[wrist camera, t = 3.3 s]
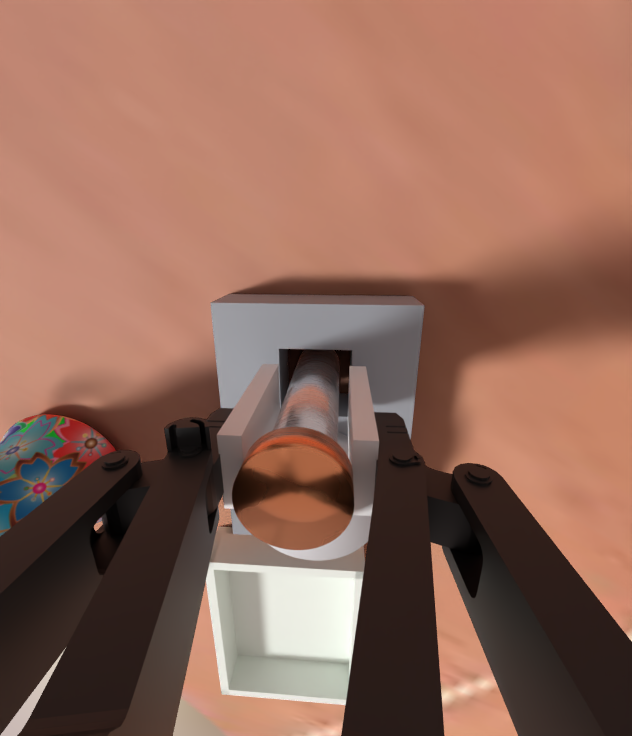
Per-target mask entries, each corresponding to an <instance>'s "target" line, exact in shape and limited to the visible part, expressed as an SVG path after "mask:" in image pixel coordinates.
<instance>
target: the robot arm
mask: <svg viewBox="0 0 632 736" xmlns="http://www.w3.org/2000/svg"><path fill="white" fill-rule="evenodd" d="M279 412H280V391H279V364H262V366H261V367H260V369H259V370H258V372H257V373H256V375H255V377H254V378H253V380H252V381H251V383H250V384H249V386H248V387H247V389H246V390H245V392H244V393H243V395H242V397H241V398H240V400H239V401H238V403H237V404H236V406H235V407H234V408H220V409H218V410H216V411H215V412H213V413H211V415H210V416H209V417H208V419H207V420H205V419H202V418H184V419H180V420H177V421H174V422H172V423H170V424H168V425H167V426H166V427H165V428H164V431H165V437H166V443H167V449H168V453H167V455H166V457H165V459H162V460H157V461H150V462H143V463H141V460H140V455H139V454H138V453H137V452H135V451H131V450H119V451H114V452H110V453H109V454H106V455H104V456H102V457H100V458H98V459H97V460H95V461H94V462H93V463H91V464H90V465H89V466H88V467H86V468H85V469H84V470H83V471H81V472H80V473H79V474H78V475H76V476H75V477H74V478H73V479H71V480H70V481H69V482H68V483H66V484H65V485H64V486H63V487H61V488H60V489H59V490H58V491H56V492H55V493H54V494H53V495H51V496H50V497H49V498H48V499H46V500H45V501H44V502H43V503H41V504H40V505H39V506H38V507H36V508H35V509H34V510H33V511H31V512H30V513H29V514H28V515H26V516H25V517H24V518H23V519H21V520H20V521H19V522H18V523H16V524H15V525H14V526H13V527H11V528H10V529H9V530H8V531H6V532H5V533H4V534H3V535H1V536H0V735H1V733H2V732H3V731H4V729H5V728H6V727H7V725H8V724H9V723H10V721H11V720H12V719H13V717H14V716H15V714H16V713H17V712H18V711H19V709H20V708H21V707H22V705H23V704H24V702H25V701H26V700H27V699H28V697H29V696H30V694H31V693H32V692H33V691H34V689H35V688H36V687H37V685H38V684H39V683H40V681H41V680H42V679H43V677H44V676H45V675H46V673H47V672H48V671H49V669H50V668H51V667H52V665H53V664H54V662H55V661H56V660H57V659H58V657H59V656H60V654H61V653H62V652H63V650H64V649H65V648H66V649H65V651H64V653H63V655H62V656H61V658H60V660H59V662H58V664H57V666H56V668H55V670H54V672H53V674H52V676H51V678H50V679H49V682H48V683H47V685H46V687H45V689H44V691H43V693H42V695H41V697H40V699H39V701H38V703H37V704H36V706H35V708H34V710H33V712H32V714H31V716H30V718H29V720H28V721H27V723H26V725H25V726H24V728H23V729H22V731H21V732H20V733H19V734H18V735H17V736H173V731H174V727H175V722H176V717H177V712H178V708H179V703H180V699H181V694H182V689H183V685H184V680H185V675H186V671H187V666H188V661H189V657H190V652H191V647H192V643H193V638H194V633H195V629H196V624H197V619H198V615H199V610H200V605H201V601H202V596H203V591H204V587H205V582H206V577H207V573H208V568H209V563H210V558H211V554H212V549H213V544H214V540H215V535H216V530H217V526H218V521H219V509H218V504H219V502H220V500H221V498H222V495H223V500H224V508H228V509H234V508H233V503H232V488H233V484H234V481H235V479H236V476H237V474H238V472H239V470H240V468H241V465H242V463H243V461H244V459H245V456H246V454H247V452H248V450H249V449H250V447H251V446H252V445H253V444H254V443H255V442H256V441H257V440H258V439H259V438H260V437H262V436H263V435H265V434H267V433H268V432H271V431H273V428H274V426H275V423H276V420H277V417H278V415H279ZM348 454H349V460H350V462H351V465H352V470H353V484H354V513H353V515H363V516H371V522H370V530H369V537H368V544H367V552H366V559H365V566H364V574H363V581H362V588H361V596H360V603H359V610H358V618H357V625H356V632H355V640H354V647H353V654H352V662H351V669H350V676H349V684H348V691H347V699H346V706H345V713H344V721H343V728H342V735H341V736H444V725H443V711H442V697H441V683H440V669H439V655H438V641H437V627H436V613H435V599H434V585H433V571H432V557H431V543H430V542H432V543H435V544H439V545H442V548H443V552H444V555H445V557H446V560H447V562H448V565H449V567H450V569H451V572H452V574H453V577H454V579H455V582H456V584H457V587H458V589H459V591H460V594H461V596H462V599H463V601H464V604H465V606H466V609H467V611H468V613H469V616H470V618H471V621H472V623H473V626H474V628H475V631H476V633H477V636H478V638H479V640H480V643H481V645H482V648H483V650H484V653H485V655H486V658H487V660H488V662H489V665H490V667H491V670H492V672H493V675H494V677H495V680H496V682H497V685H498V687H499V689H500V692H501V694H502V697H503V699H504V702H505V704H506V707H507V709H508V711H509V714H510V716H511V719H512V721H513V724H514V726H515V729H516V731H517V734H518V736H632V642H631V640H630V639H629V638H628V637H627V635H626V634H625V633H624V631H623V630H622V629H621V628H620V626H619V625H618V624H617V623H616V621H615V620H614V619H613V617H612V616H611V615H610V614H609V612H608V611H607V610H606V609H605V607H604V606H603V605H602V603H601V602H600V601H599V600H598V598H597V597H596V596H595V595H594V593H593V592H592V591H591V589H590V588H589V587H588V586H587V584H586V583H585V582H584V581H583V579H582V578H581V577H580V575H579V574H578V573H577V572H576V570H575V569H574V568H573V567H572V565H571V564H570V563H569V561H568V560H567V559H566V558H565V556H564V555H563V554H562V553H561V551H560V550H559V549H558V547H557V546H556V545H555V544H554V542H553V541H552V540H551V539H550V537H549V536H548V535H547V533H546V532H545V531H544V530H543V528H542V527H541V526H540V525H539V523H538V522H537V521H536V519H535V518H534V517H533V516H532V514H531V513H530V512H529V511H528V509H527V508H526V507H525V505H524V504H523V503H522V502H521V500H520V499H519V498H518V497H517V495H516V494H515V493H514V491H513V490H512V489H511V488H510V486H509V485H508V484H507V483H506V481H505V480H504V479H503V477H502V476H500V475H499V474H498V473H497V472H496V471H494V470H492V469H490V468H489V467H486V466H484V465H480V464H473V463H465V464H460V465H458V466H456V467H455V468H454V470H453V474H449V473H444V472H440V471H437V470H434V469H431V468H429V467H427V466H425V462H424V460H423V458H422V457H421V456H420V455H419V454H418V453H416V452H414V449H413V446H412V443H411V440H410V437H409V434H408V431H407V428H406V425H405V422H404V419H403V418H402V417H400V416H399V415H398V414H397V413H388V412H374V409H373V404H372V398H371V393H370V387H369V381H368V376H367V370H366V366H349V393H348ZM100 518H102V522H103V525H102V526H101V527H100V528H99V529H98V530H97V531H95V530H94V525H95V524H96V522H97V521H98V520H99V519H100ZM66 646H67V647H66Z"/></svg>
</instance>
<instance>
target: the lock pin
mask: <svg viewBox="0 0 632 736" xmlns="http://www.w3.org/2000/svg"><path fill="white" fill-rule="evenodd" d="M339 372H340V362H339V358H338V356H337V354H336V352H335V351H334V350H319V349H305V350H304V351H303V352H302V354H301V355H300V358H299V360H298V363H297V366H296V369H295V371H294V374H293V377H292V379H291V382H290V385H289V388H288V390H287V393H286V396H285V398H284V401H283V404H282V407H281V409H280V412H279V415H278V417H277V420H276V423H275V426H274V428H273V431H271V432H268V433H267V434H265V435H263V436H262V437H260V438H259V439H258V440H257V441H256V442H255V443H254V444H253V445H252V446H251V447H250V449H249V450H248V452H247V454H246V456H245V459H244V461H243V463H242V465H241V468H240V470H239V472H238V474H237V476H236V479H235V481H234V484H233V488H232V503H233V508H234V511H235V513H236V515H237V517H238V519H239V521H240V522H241V524H242V525H243V526H244V527H245V528H246V529H247V530H248V531H249V532H250V533H251V534H252V535H253V536H255V537H256V538H258V539H259V540H261V541H263V542H265V543H267V544H269V545H272V546H275V547H278V548H282V549H288V550H309V549H314V548H318V547H321V546H324V545H326V544H328V543H330V542H331V541H333V540H335V539H336V538H337V537H339V536H340V535H341V534H342V533H343V532H344V531H345V529H346V528H347V526H348V525H349V523H350V521H351V519H352V516H353V513H354V484H353V470H352V465H351V462H350V460H349V458H348V456H347V454H346V452H345V451H344V450H343V448H342V447H341V446H340V445H339V444H338V410H339Z"/></svg>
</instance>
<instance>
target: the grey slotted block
mask: <svg viewBox="0 0 632 736" xmlns="http://www.w3.org/2000/svg"><path fill="white" fill-rule="evenodd" d="M211 313H212V323H213V334H214V344H215V354H216V364H217V374H218V385H219V395H220V405H221V408H234V407H235V406H236V404H237V403H238V401H239V400H240V398H241V397H242V395H243V393H244V392H245V390H246V389H247V387H248V386H249V384H250V383H251V381H252V380H253V378H254V377H255V375H256V373H257V372H258V370H259V369H260V367H261V366H262V364H279V391H280V409H281V407H282V404H283V401H284V398H285V396H286V393H287V390H288V388H289V367H288V349H319V350H351V353H350V366H366V370H367V376H368V381H369V387H370V393H371V398H372V404H373V409H374V412H388V413H397V414H398V415H399V416H400V417H402V418H403V419H404V422H405V425H406V428H407V431H408V434H409V437H410V440H411V432H412V422H413V412H414V403H415V393H416V383H417V374H418V364H419V354H420V345H421V335H422V325H423V316H424V305H423V304H422V303H421V302H419V301H418V300H417V299H416V298H414V297H413V296H371V295H284V294H228V295H226V296H224V297H222V298H220V299H217V300H215V301H213V302H211ZM338 444H339V445H340V446H341V447H342V448H343V450H344V451H345V452H346V454H347V456H348V458H349V454H348V394H347V393H339V410H338ZM231 518H232V528H233V534H241V535H252V534H251V533H250V532H249V531H248V530H247V529H246V528H245V527H244V526H243V525H242V524H241V522H240V521H239V519H238V517H237V515H236V513H235V511H234V509H231ZM370 522H371V516H363V515H353V516H352V519H351V521H350V523H349V525H348V526H347V528H346V529H345V531H344V532H343V533H342V534H341V535H340V536H339V537H337V538H336V539H335V540H333V541H331V542H330V543H328V544H326V545H324V546H321V547H318V548H314V549H309V550H288V549H282V548H278V547H275V546H272V545H270V546H271V547H273V548H274V549H276V550H278V551H279V552H282V553H284V554H286V555H289V556H292V557H295V558H299V559H304V560H313V561H322V560H331V559H336V558H340V557H343V556H346V555H348V554H350V553H353V552H354V551H356V550H358V549H359V548H361V547H362V546H363V545H365V544H366V543H367V542H368V537H369V530H370ZM268 545H269V544H268Z"/></svg>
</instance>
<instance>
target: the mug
mask: <svg viewBox="0 0 632 736" xmlns="http://www.w3.org/2000/svg"><path fill="white" fill-rule="evenodd" d="M114 451H116V450H115V448H114V447H113V446H112V445H111V443H110V442H109V441H108V440H107V439H106V438H105V437H104V436H102V435H101V434H100V433H99V432H97V431H96V430H95V429H93V428H92V427H90V426H88V425H86V424H84V423H82V422H80V421H78V420H75V419H72V418H69V417H65V416H60V415H50V414H44V415H36V416H32V417H28V418H25V419H23V420H21V421H19V422H17V423H16V424H14V425H13V426H12V427H11V428H10V429H9V430H8V431H7V432H6V434H5V435H4V437H3V438H2V440H1V442H0V536H1V535H3V534H4V533H5V532H6V531H8V530H9V529H10V528H11V527H13V526H14V525H15V524H16V523H18V522H19V521H20V520H21V519H23V518H24V517H25V516H26V515H28V514H29V513H30V512H31V511H33V510H34V509H35V508H36V507H38V506H39V505H40V504H41V503H43V502H44V501H45V500H46V499H48V498H49V497H50V496H51V495H53V494H54V493H55V492H56V491H58V490H59V489H60V488H61V487H63V486H64V485H65V484H66V483H68V482H69V481H70V480H71V479H73V478H74V477H75V476H76V475H78V474H79V473H80V472H81V471H83V470H84V469H85V468H86V467H88V466H89V465H90V464H91V463H93V462H94V461H95V460H97V459H98V458H100V457H102V456H104V455H106V454H109V453H110V452H114ZM100 521H102V518H100V519H99V520H98V521H97V522H96V523H98V522H100Z"/></svg>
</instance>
